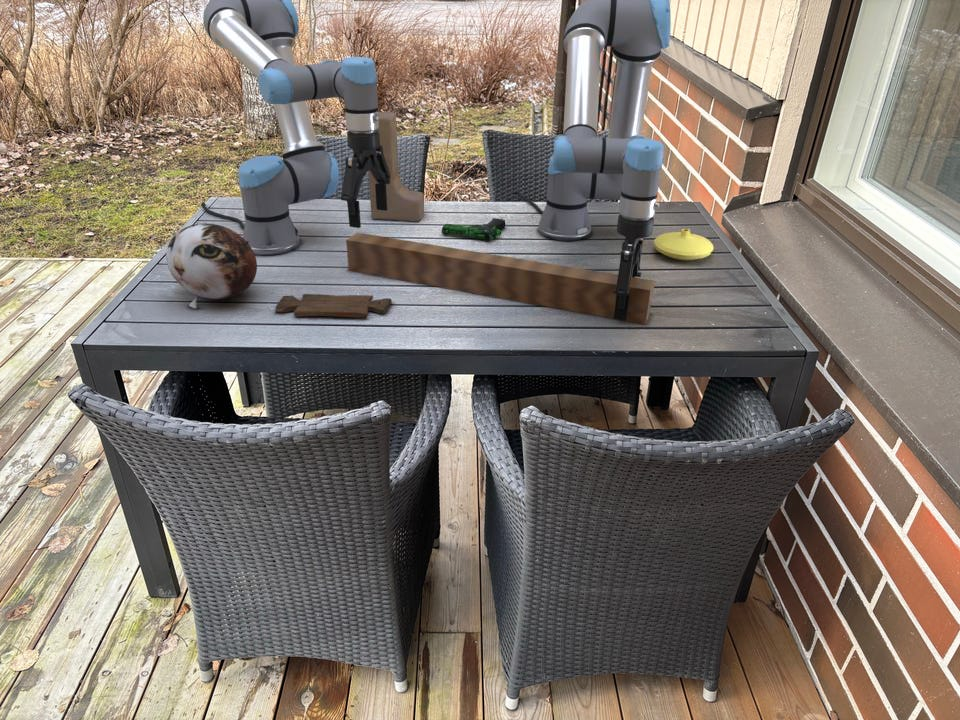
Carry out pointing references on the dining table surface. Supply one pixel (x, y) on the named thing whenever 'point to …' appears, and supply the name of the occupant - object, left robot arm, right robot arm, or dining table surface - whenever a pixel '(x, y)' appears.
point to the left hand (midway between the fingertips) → (369, 218)
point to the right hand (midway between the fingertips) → (623, 310)
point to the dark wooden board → (333, 305)
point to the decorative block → (394, 179)
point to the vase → (683, 245)
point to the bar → (497, 276)
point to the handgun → (476, 230)
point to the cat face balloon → (211, 261)
